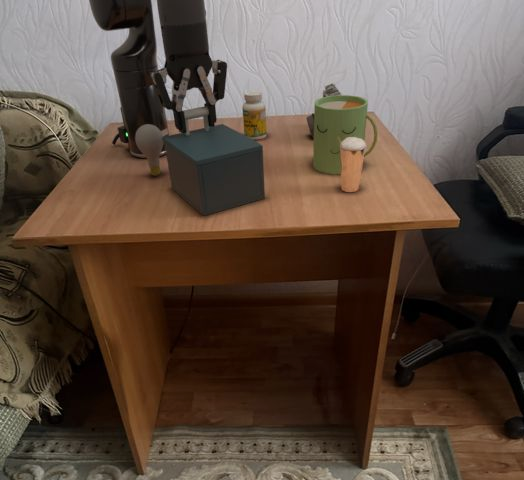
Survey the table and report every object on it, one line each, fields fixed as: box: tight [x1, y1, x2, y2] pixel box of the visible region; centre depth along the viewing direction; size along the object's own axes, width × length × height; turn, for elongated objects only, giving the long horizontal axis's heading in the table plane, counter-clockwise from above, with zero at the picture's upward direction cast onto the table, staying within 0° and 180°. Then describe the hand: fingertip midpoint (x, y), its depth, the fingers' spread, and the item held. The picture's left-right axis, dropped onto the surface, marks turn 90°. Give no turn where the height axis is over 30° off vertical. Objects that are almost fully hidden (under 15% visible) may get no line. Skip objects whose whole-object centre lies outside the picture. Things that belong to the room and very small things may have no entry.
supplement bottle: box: [242, 90, 268, 141], centre depth 114 cm, size 5×5×10 cm
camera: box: [306, 83, 342, 139], centre depth 113 cm, size 16×9×10 cm, turn 3°
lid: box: [162, 105, 264, 166], centre depth 86 cm, size 15×13×5 cm
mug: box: [312, 94, 378, 175], centre depth 97 cm, size 13×10×12 cm
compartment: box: [165, 144, 266, 217], centre depth 90 cm, size 15×13×9 cm
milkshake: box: [338, 136, 367, 193], centre depth 89 cm, size 5×5×10 cm
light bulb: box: [135, 124, 163, 177], centre depth 98 cm, size 6×6×10 cm
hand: (196, 128), depth 90 cm, fingers closed on lid, 5 cm apart
